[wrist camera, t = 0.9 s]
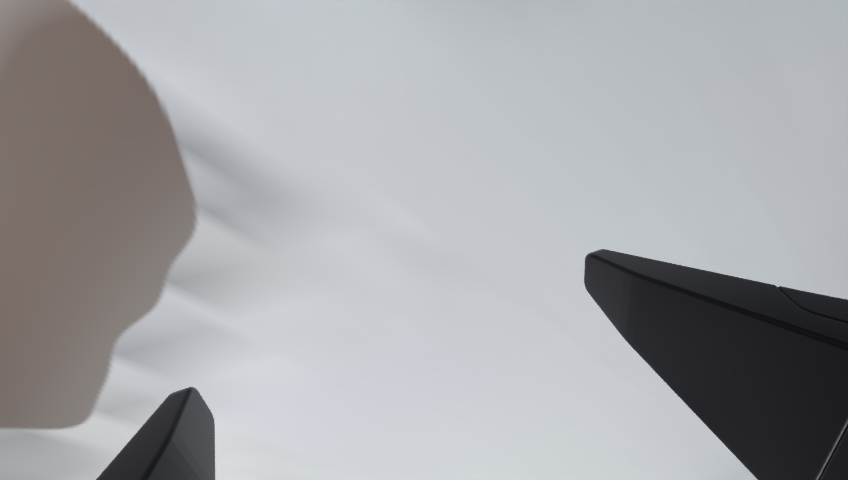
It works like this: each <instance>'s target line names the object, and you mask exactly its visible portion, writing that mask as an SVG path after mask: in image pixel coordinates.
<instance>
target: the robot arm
mask: <svg viewBox="0 0 848 480" xmlns="http://www.w3.org/2000/svg"><path fill="white" fill-rule="evenodd" d="M584 283H585V287H586V289H587V291H588V293H589V294H590V295H591V297H592V298H593V299H594V300H595V302H596V303H597V304H598V306H599V307H600V308H601V309H602V311H603V312H604V313H605V315H606V316H607V317H608V318H609V320H610V321H611V322H612V324H613V325H614V326H615V328H616V329H617V330H618V331H619V333H620V334H621V335H622V336H623V337H624V339H625V340H626V341H627V342H628V343H629V344H630V345H631V346H632V348H633V349H634V350H635V351H636V352H637V353H638V354H639V355H640V356H641V357H642V358H643V359H644V360H645V361H646V362H647V363H648V364H649V365H650V367H651V368H652V369H653V370H654V371H655V372H656V373H657V374H658V375H659V376H660V377H661V378H662V379H663V380H664V381H665V382H666V383H667V384H668V386H669V387H670V388H671V389H672V390H673V391H674V392H675V393H676V394H677V395H678V396H679V397H680V398H681V399H682V400H683V401H684V402H685V403H686V404H687V406H688V407H689V408H690V409H691V410H692V411H693V412H694V413H695V414H696V415H697V416H698V417H699V418H700V419H701V420H702V421H703V422H704V423H705V424H706V426H707V427H708V428H709V429H710V430H711V431H712V432H713V433H714V434H715V435H716V436H717V437H718V438H719V439H720V440H721V441H722V442H723V443H724V445H725V446H726V447H727V448H728V449H729V450H730V451H731V452H732V453H733V454H734V455H735V456H736V457H737V458H738V459H739V460H740V461H741V462H742V463H743V465H744V466H745V467H746V468H747V469H748V470H749V471H750V472H751V473H752V474H753V475H754V476H755V477H756V478H757V479H758V480H848V300H847V299H841V298H835V297H830V296H825V295H820V294H815V293H810V292H805V291H800V290H795V289H791V288H786V287H781V286H779V287H777V286H775V285H771V284H767V283H762V282H757V281H752V280H748V279H743V278H738V277H733V276H729V275H724V274H719V273H714V272H710V271H705V270H700V269H695V268H691V267H686V266H681V265H676V264H672V263H667V262H662V261H657V260H653V259H648V258H643V257H638V256H634V255H629V254H624V253H619V252H615V251H610V250H605V249H601V250H598V251H595V252H592V253H589V254H588V255H587V256H586V258H585V275H584ZM96 480H215V426H214V418H213V415H212V413H211V411H210V409H209V408H208V406H207V405H206V403H205V401H204V400H203V398H202V397H201V395H200V393H199V392H198V390H197V389H195V388H193V387H189V388H186V389H183V390H180V391H177V392H174V393H172V394H170V395H169V396H168V397H167V398H166V399H165V401H164V402H163V403H162V404H161V405H160V406H159V408H158V409H157V410H156V411H155V412H154V413H153V415H152V416H151V417H150V418H149V419H148V420H147V421H146V423H145V424H144V425H143V426H142V427H141V428H140V430H139V431H138V432H137V433H136V434H135V435H134V437H133V438H132V439H131V440H130V441H129V442H128V443H127V445H126V446H125V447H124V448H123V449H122V450H121V452H120V453H119V454H118V455H117V456H116V457H115V459H114V460H113V461H112V462H111V463H110V464H109V465H108V467H107V468H106V469H105V470H104V471H103V472H102V474H101V475H100V476H99V477H98V478H97V479H96Z"/></svg>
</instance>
